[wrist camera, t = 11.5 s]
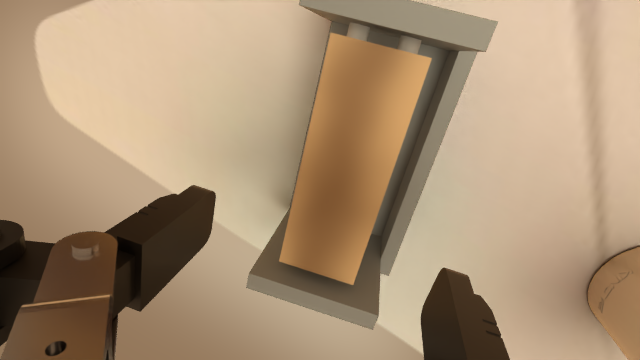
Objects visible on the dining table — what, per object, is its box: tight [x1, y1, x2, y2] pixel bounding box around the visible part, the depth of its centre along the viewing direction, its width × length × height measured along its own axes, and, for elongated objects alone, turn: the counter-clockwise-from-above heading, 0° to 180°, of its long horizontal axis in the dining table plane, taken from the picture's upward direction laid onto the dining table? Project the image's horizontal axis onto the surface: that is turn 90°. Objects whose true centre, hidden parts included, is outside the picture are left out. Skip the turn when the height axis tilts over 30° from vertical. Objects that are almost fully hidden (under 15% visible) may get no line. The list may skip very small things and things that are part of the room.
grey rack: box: [246, 0, 498, 330], centre depth 23 cm, size 10×18×11 cm, turn 166°
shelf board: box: [279, 33, 432, 285], centre depth 20 cm, size 5×14×3 cm, turn 166°
